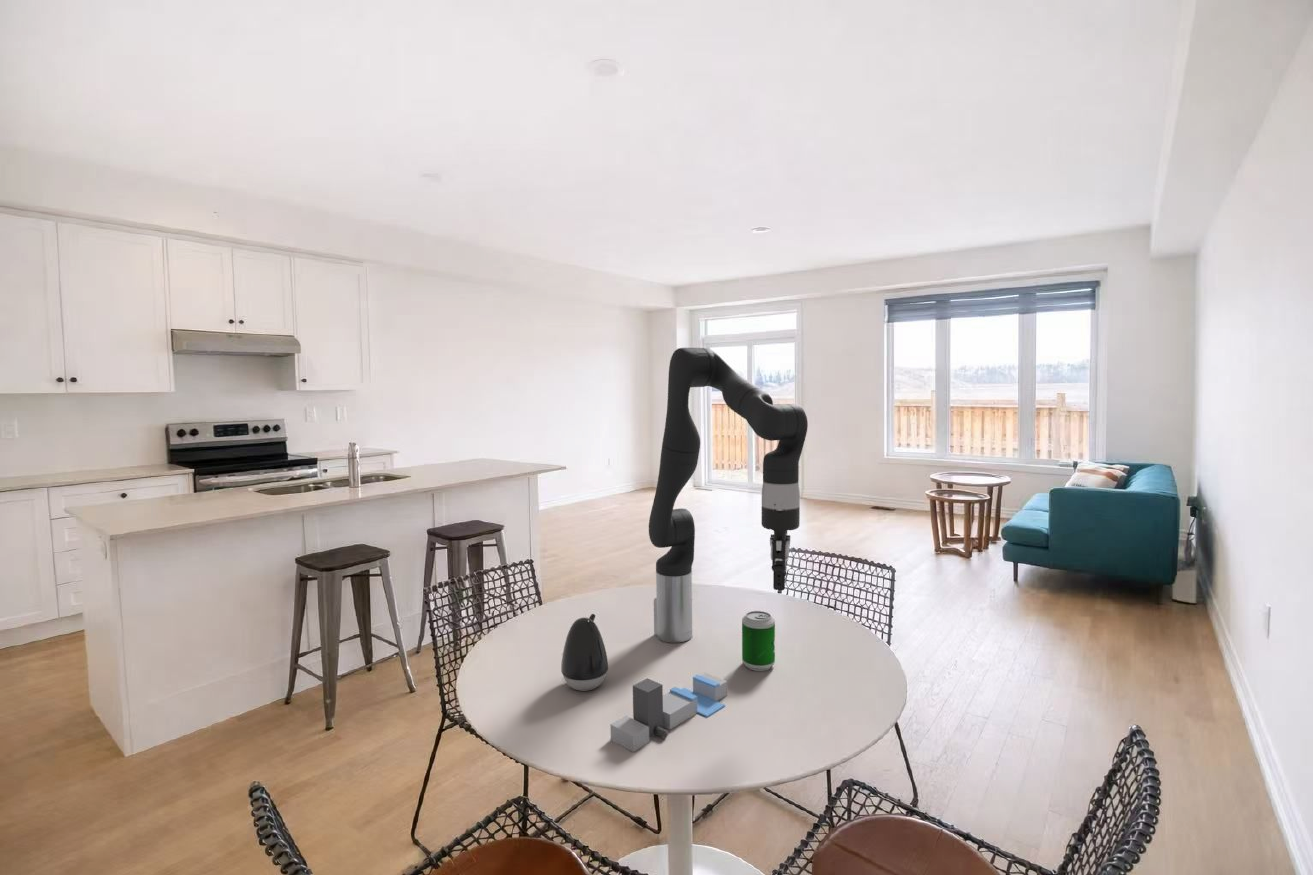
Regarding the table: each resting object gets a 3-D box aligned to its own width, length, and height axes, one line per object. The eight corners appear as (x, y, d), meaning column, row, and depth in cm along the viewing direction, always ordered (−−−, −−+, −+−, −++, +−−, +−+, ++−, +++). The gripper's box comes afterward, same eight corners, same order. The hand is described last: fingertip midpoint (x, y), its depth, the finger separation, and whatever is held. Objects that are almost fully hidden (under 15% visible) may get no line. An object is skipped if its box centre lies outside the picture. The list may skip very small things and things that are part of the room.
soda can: (774, 673, 146) (774, 622, 145) (741, 671, 148) (740, 620, 147) (775, 659, 154) (775, 610, 153) (743, 657, 155) (743, 608, 154)
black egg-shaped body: (616, 677, 146) (614, 612, 144) (596, 699, 136) (595, 629, 134) (575, 671, 149) (573, 607, 148) (553, 692, 139) (551, 624, 138)
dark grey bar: (633, 730, 124) (632, 685, 123) (648, 722, 127) (647, 678, 126) (658, 743, 119) (657, 696, 119) (672, 734, 122) (672, 688, 121)
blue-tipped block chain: (601, 734, 123) (601, 716, 122) (696, 682, 143) (696, 666, 143) (643, 757, 115) (643, 738, 115) (736, 698, 135) (736, 682, 135)
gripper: (763, 496, 138) (763, 571, 139) (759, 510, 124) (758, 593, 125) (800, 497, 136) (799, 573, 138) (799, 512, 122) (798, 595, 124)
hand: (779, 582), depth 131 cm, fingers open, 8 cm apart
